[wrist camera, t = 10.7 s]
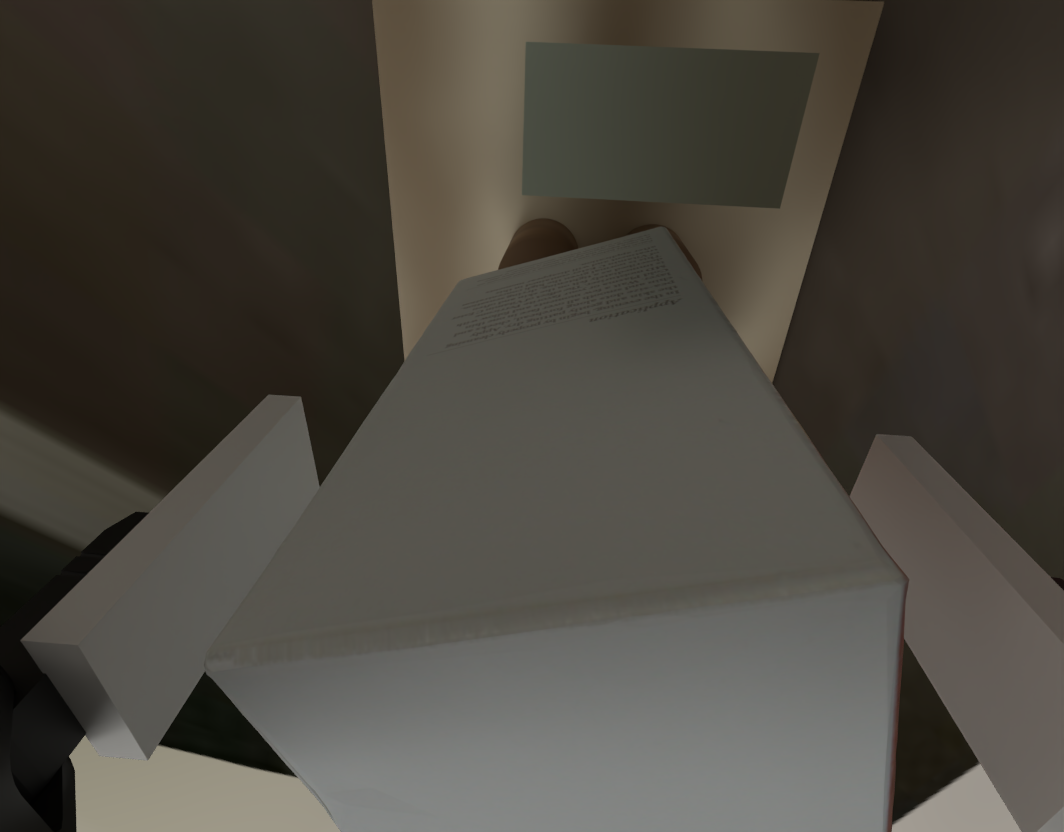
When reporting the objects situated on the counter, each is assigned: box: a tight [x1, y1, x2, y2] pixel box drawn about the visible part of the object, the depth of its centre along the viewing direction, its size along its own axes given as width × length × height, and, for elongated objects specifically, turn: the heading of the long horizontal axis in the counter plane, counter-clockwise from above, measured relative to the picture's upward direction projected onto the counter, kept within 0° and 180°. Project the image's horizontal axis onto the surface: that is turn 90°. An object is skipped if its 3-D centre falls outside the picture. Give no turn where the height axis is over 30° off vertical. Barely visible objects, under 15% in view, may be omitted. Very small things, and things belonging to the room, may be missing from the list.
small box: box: [204, 227, 909, 832], centre depth 12 cm, size 8×6×13 cm
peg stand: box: [372, 0, 884, 383], centre depth 15 cm, size 14×20×13 cm
